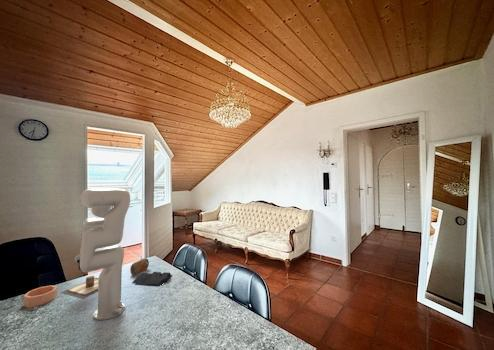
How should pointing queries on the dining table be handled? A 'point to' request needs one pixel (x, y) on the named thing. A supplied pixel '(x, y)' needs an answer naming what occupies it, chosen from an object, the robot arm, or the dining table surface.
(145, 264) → the tin
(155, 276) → the dark slate chunk
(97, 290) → the rubber mat
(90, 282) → the beech lid
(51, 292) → the terracotta bowl
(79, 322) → the dining table surface
